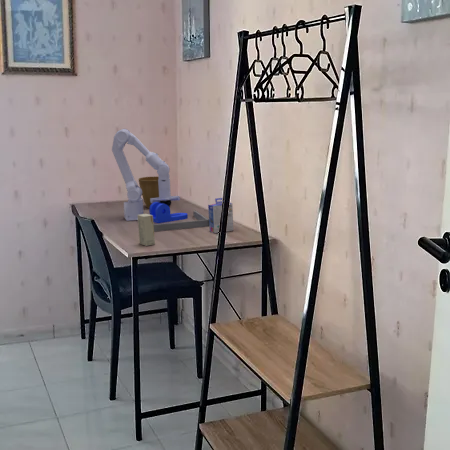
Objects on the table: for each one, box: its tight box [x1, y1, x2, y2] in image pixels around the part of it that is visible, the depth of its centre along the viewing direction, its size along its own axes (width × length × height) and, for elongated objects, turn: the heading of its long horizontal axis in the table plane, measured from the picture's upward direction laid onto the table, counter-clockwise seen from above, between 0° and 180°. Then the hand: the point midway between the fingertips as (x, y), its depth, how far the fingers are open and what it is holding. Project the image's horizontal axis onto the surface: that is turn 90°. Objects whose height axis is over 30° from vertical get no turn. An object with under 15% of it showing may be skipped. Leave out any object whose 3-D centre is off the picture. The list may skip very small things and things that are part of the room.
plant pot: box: [137, 176, 159, 209], centre depth 337 cm, size 15×15×16 cm
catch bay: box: [154, 209, 210, 233], centre depth 295 cm, size 28×25×3 cm
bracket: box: [148, 202, 189, 224], centre depth 305 cm, size 18×8×9 cm, turn 123°
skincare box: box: [137, 213, 156, 247], centre depth 256 cm, size 6×4×12 cm
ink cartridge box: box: [207, 197, 234, 234], centre depth 275 cm, size 10×6×14 cm, turn 118°
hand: (166, 215), depth 310 cm, fingers closed, pressing on bracket
